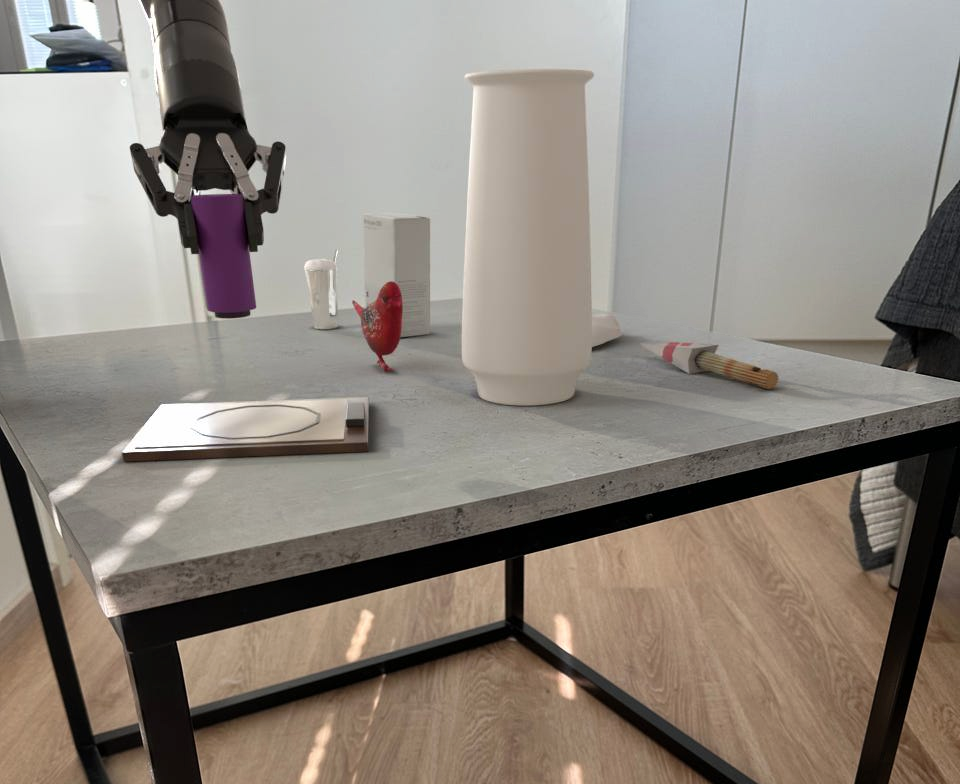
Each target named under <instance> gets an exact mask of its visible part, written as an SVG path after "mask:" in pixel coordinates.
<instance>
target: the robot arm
mask: <svg viewBox="0 0 960 784" xmlns="http://www.w3.org/2000/svg"><path fill="white" fill-rule="evenodd" d="M138 1H139V3H140V5H141V7H142V10H143V12H144V14H145V17H146V19H147V21H148V23H149V26H150V32H151V34H150V35H151V40H152V46H153V53H154V59H153V60H154V62H153V63H154V65H153V70H154V80H155V86H156V87H155V89H156V97H157V99H158V108H159V114H160V122H161V128H162V136H161V138H160V139H159V143H158V145H157V146H153V147H148V148H145V146H144V145H143V144H142V143H138V142H134V143H131V144H130V145H129V152H130V157H131V161H132V166H133V170H134V173H135V175H136V177H137V180H138V181H139V183H140V185H141V186H142V189H143V190H144V192H145V194H146V196H147V198H148V200H149V202H150V204H151V206H152V208H153V211H155V214H156V215H157V216H159V217H162V218H164V217H168V216H169V215H170V216H173V217H174V218H176V219H177V225H178V232H179V237H180V243H181V245H182V247H183V249H190V255H199V247H198V240H197V233H196V227H195V220H194V213H193V207H192V204H191V198H190V196H193V195H200V191H209V190H210V191H211V190H214V189H217V190H222V191H229V192H230V194H242V196H243V205H244V213H245V221H246V229H247V238H248V245H249V252H250V253H258V251H259V250H258V249H259V248H258V247H259V246H263V245H264V242H265V234H264V233H265V232H264V231H265V230H264V225H263V219H262V215H263V214H264V213H268V214H272V215H273V214H277V213H278V211H279V207H280V203H281V197H282V191H283V186H284V180H285V175H286V170H287V153H286V151H287V150H286V149H287V147H286V144H284V142H282V141H274V142H272V144H271V146H266V145H261V144H257V141H256V140H255V138H254V137H253V136H252V135H251V133H250V131H249V127H248V121H247V115H246V110H245V103H244V99H243V92H242V87H241V82H240V75H239V72H238V67H237V64H236V61H235V57H234V55H233V52H232V47H231V42H230V35H229V28H228V24H227V19H226V14H225V11H224V8H223V6H222V4H221V1H220V0H138ZM256 161H258V162H259V163H260V164H261V169H262V171H263V172H265V174H266V175H265V180H264V186H263V188H260V189H258V190H257V188H256V187H255V185H254V183H253V181H252V180H251V177H250V174H249V171H251V169H252V167H253V166H254V165H255V163H256ZM162 163H164V164H165V165H166V166H167V167H168V168H169V169H170V170H172V171H173V172H174V173H175V174H176V175H177V182H176V186H175V191H174V192H172V191H169V190H167V189H166V186H165V184H164V183H163V180H162V179H161V177H160V175H159V174H160V173H161V164H162Z"/></svg>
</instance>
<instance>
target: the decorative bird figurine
mask: <svg viewBox="0 0 960 784" xmlns="http://www.w3.org/2000/svg"><path fill="white" fill-rule="evenodd" d="M351 303H352V306H353V307H354V309H355V311H356V313H357V314H358V316H359V319H360V327H361V330H362V333H363V337H364V338H365V340H366V343H367V345H368V347H369V348H370V350H371V351H372V352H373V353H374V354H375V355H376V357H377V358H378V360H377V362H376V365H378V367H380V368H381V369H382V370H383V371H384V372H388V371H390V372H393V370H392V368H390V366H389V365H388V364H386V361H385V360H384V358H383V356H388V355H392V354H393V353H394V352H395V350H396V349H397V347H398V345H399V343H400V340H401V337H400V336H401V330H402V312H403V305H402V295H401V291H400V289H399V287H398V285H397V284H396V283H395V282H393V281H391V282H387V283H386V284H385V285H384V286H383V287H382V288H381V290H380V292H379V294H378V297H377V300H376V301H375V302H373V303H370V304H369V305H368V306H366V307H365V306H364V307H362V306H361V304H359V303H358V302H357V301H355V300H352V301H351Z"/></svg>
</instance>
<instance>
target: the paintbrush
mask: <svg viewBox="0 0 960 784" xmlns="http://www.w3.org/2000/svg"><path fill="white" fill-rule="evenodd" d="M639 345H640V346H642V347H643V348H645V349H647V350H648V351H650V352H652V353H653V354H654V355H657V356H658V357H660V358H662V359H663V360H665V361H667V362H668V363H670V364H672V365H673V366H675V367H677V368H678V369H679V370H682V371H683V372H685V373H686V374H688V375H693V374H697V373H704V372H709V371H710V372H713V373H716V374H720V375H722V376H725V377H729V378H732V379H736V380H738V381H742V382H745V383H748V384H755V386H758V387H760V388H762V389H766V390H772V389H774V388H775V387H776V386H777V384H778V381H779V375H778V372H776V371H773V370H770V369H761V367H759V366H756V365H753V364H749V363H746V362H743V361H739V360H736V359H733V358H729V357H727V356H724V355H720V354H718V353H717V354H716V351H717V350H718V347H719V344H710V343H695V342H679V341H678V342H677V341H662V340H661V341H659V340H657V341H656V340H655V341H648V342H641V343H639Z"/></svg>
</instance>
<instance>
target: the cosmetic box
mask: <svg viewBox="0 0 960 784" xmlns="http://www.w3.org/2000/svg"><path fill="white" fill-rule="evenodd" d="M362 236H363V237H362V238H363V240H362V242H363V271H364V273H363V276H364V278H363V279H364V281H363V282H364V308H365V307H366V306H368V305H369V304H370V303H373V302H375V301H376V300H377V297H378V294H379V292H380V290H381V288H382V287H383V286H384V285H385V284H386V283H387V282H391V281H393V282H395V283H396V284H397V285H398V287H399V289H400V291H401V295H402V305H403V312H402V330H401V336H400V338H407V337H417V336H425V335H430V334H431V218H430V217H426V216H422V215H416V214H412V213H403V212H364V213H362Z"/></svg>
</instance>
